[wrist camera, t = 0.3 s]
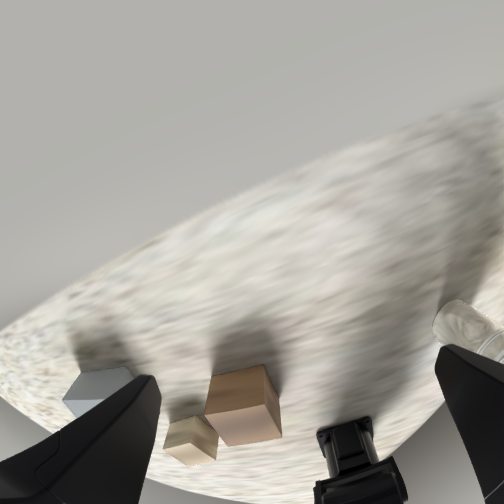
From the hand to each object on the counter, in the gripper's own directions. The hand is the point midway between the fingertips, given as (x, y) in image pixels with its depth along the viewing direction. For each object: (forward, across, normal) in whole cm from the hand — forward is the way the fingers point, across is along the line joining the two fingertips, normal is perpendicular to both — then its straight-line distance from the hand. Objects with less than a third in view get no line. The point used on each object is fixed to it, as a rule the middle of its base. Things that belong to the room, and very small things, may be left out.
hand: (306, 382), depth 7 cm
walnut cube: (+14, +4, +14) cm, 20 cm away
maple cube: (+14, +10, +20) cm, 27 cm away
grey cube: (+14, +18, +15) cm, 27 cm away
